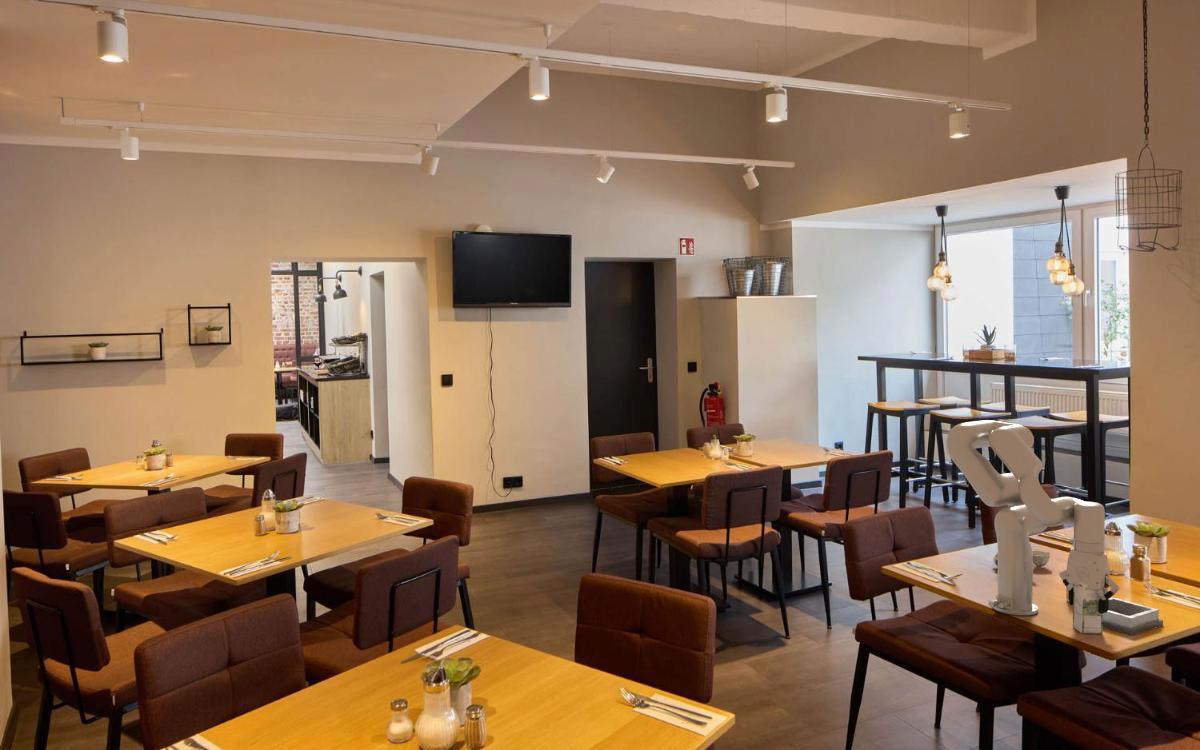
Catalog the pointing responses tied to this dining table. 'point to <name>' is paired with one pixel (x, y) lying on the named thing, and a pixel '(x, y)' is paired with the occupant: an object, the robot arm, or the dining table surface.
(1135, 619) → the pocket base
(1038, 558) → the chinaware
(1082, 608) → the syrup box
